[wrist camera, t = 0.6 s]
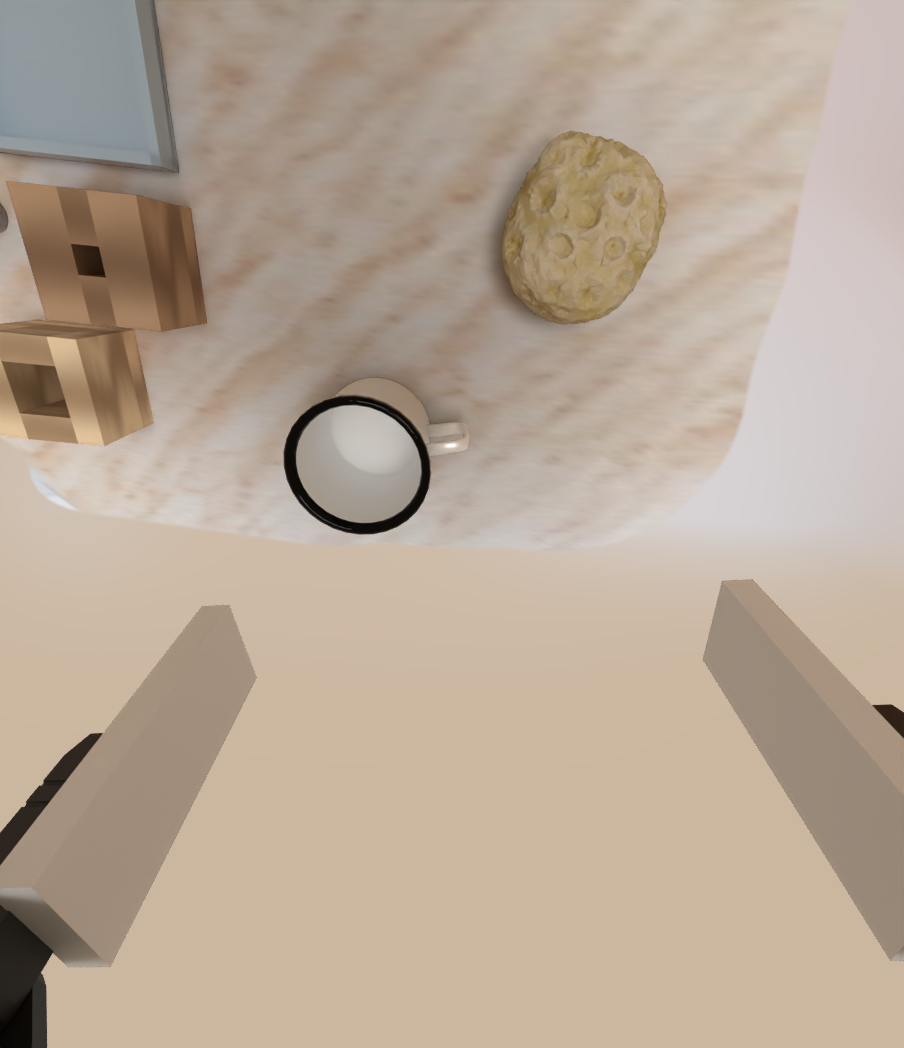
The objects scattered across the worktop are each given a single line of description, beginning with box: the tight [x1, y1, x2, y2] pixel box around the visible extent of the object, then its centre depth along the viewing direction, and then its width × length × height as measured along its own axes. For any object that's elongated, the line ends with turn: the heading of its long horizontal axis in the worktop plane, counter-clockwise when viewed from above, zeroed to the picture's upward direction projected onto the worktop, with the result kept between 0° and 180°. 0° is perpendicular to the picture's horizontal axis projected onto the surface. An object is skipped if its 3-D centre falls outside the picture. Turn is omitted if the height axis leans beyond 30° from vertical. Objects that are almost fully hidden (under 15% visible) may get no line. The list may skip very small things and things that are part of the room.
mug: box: [284, 378, 470, 534], centre depth 34 cm, size 12×10×9 cm
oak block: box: [0, 320, 154, 446], centre depth 33 cm, size 7×7×6 cm
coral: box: [501, 131, 667, 324], centre depth 28 cm, size 9×9×8 cm
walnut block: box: [6, 181, 207, 331], centre depth 30 cm, size 7×7×6 cm
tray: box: [0, 0, 179, 173], centre depth 26 cm, size 11×11×2 cm
